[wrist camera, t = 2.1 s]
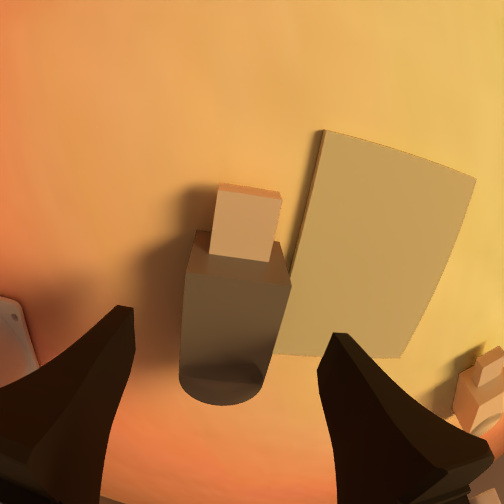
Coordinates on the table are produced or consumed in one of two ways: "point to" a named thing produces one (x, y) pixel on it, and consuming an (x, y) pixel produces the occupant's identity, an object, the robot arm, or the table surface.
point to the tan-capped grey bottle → (233, 298)
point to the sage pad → (370, 247)
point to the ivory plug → (481, 393)
